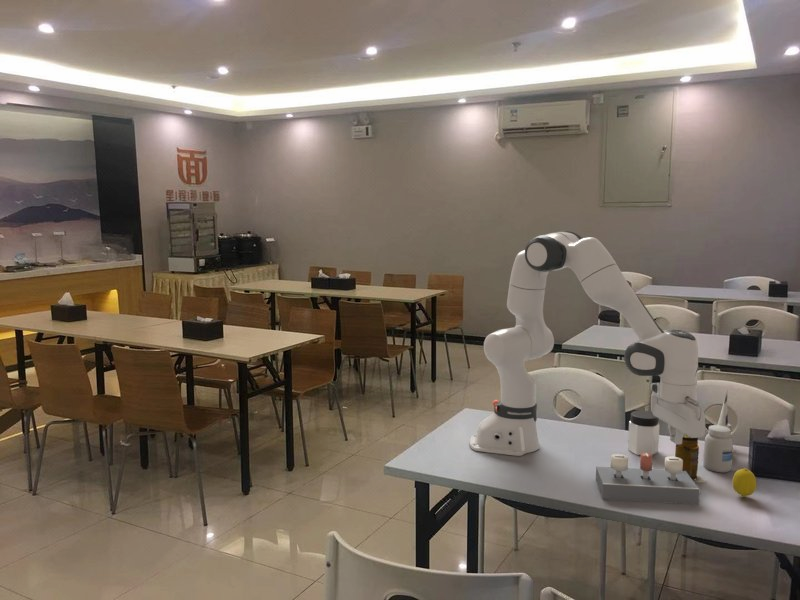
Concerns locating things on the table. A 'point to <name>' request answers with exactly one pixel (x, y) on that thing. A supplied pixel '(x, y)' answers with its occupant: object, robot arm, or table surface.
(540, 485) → the table surface
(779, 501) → the table surface
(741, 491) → the lemon
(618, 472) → the knob
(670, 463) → the knob
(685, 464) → the condiment
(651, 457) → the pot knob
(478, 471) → the table surface
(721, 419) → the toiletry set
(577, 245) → the robot arm
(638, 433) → the jar
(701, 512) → the table surface
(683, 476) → the mount
